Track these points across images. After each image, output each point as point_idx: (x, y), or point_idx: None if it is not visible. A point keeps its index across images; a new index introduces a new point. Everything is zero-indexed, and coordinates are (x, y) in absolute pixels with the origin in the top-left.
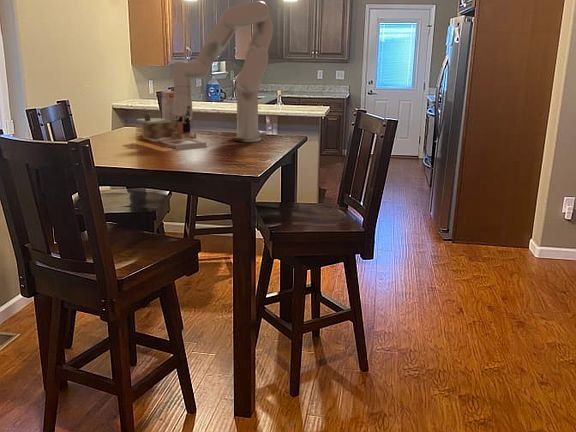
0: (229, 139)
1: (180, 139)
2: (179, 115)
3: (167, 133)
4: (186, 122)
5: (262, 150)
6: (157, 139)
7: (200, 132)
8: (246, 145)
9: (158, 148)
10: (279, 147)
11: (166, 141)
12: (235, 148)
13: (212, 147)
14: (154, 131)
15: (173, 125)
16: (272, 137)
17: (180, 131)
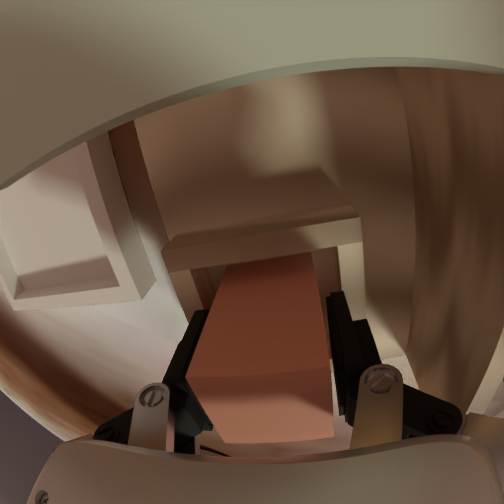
0: (247, 451)
1: (92, 214)
2: (146, 459)
3: (426, 190)
4: (140, 403)
5: (19, 389)
6: None
7: (495, 402)
8: (88, 417)
9: None
10: (68, 436)
11: None
12: (28, 364)
13: (29, 316)
14: None
15: (462, 302)
16: None
17: (250, 295)
